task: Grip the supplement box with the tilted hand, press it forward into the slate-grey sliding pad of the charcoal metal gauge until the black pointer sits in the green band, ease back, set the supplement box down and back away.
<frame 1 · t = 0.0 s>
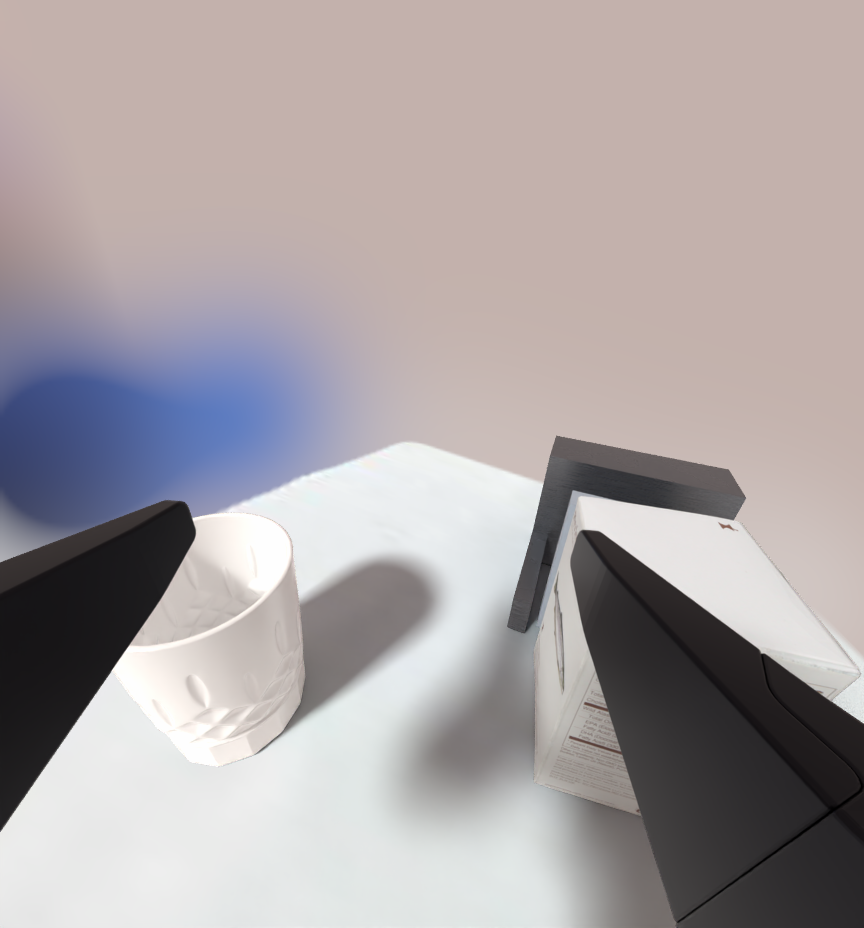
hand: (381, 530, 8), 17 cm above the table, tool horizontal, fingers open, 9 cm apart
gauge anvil: (600, 585, 29), on the table
supplement box: (597, 730, 20), on the table
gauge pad: (645, 592, 21), point 6 cm above the table, slide at 0.1 cm
white cup: (243, 698, 21), on the table
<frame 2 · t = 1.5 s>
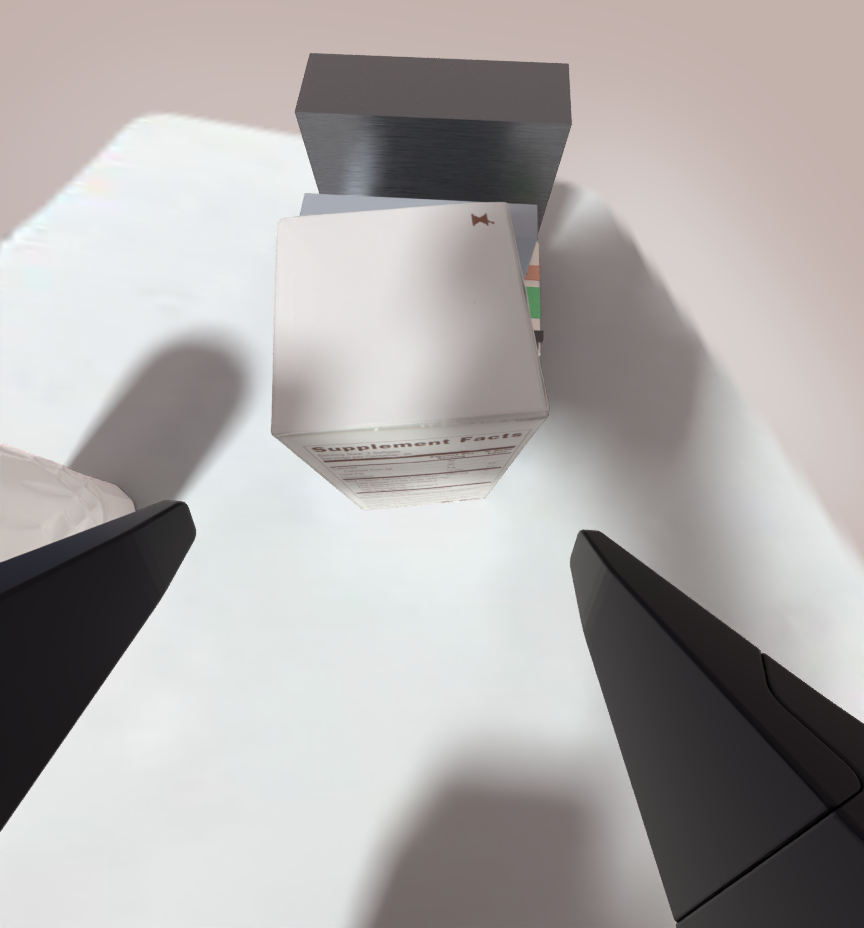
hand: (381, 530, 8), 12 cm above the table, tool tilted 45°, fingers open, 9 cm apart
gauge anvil: (432, 295, 25), on the table
supplement box: (419, 449, 22), on the table
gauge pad: (443, 312, 18), point 6 cm above the table, slide at 0.1 cm
white cup: (83, 538, 21), on the table
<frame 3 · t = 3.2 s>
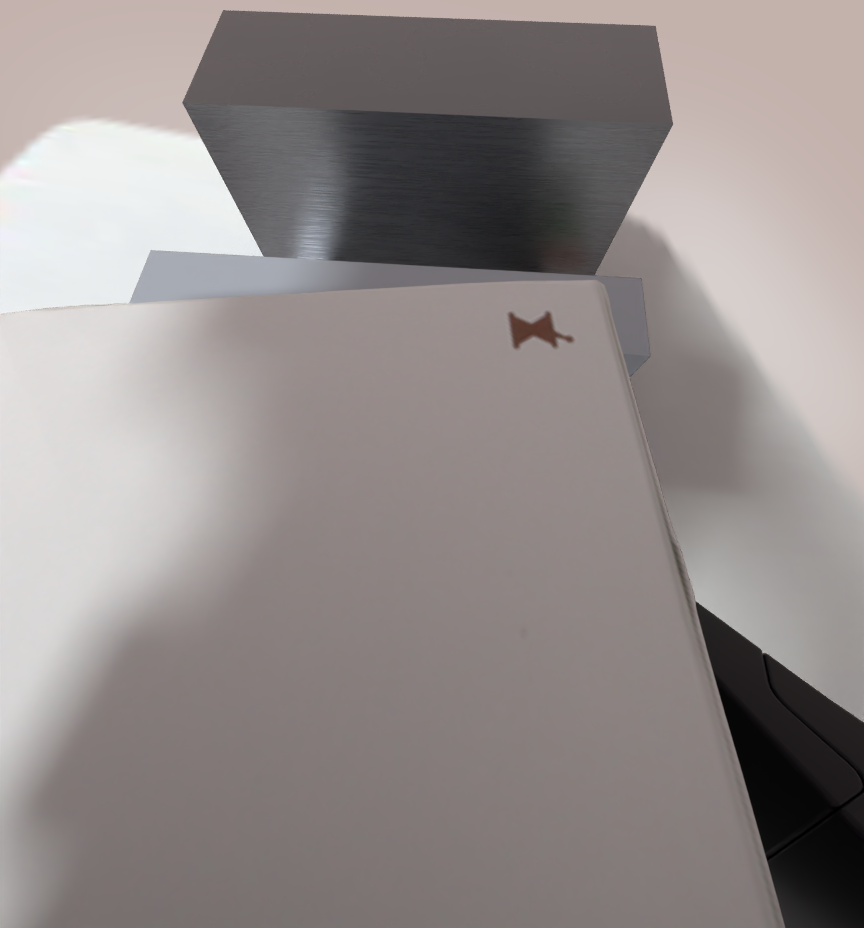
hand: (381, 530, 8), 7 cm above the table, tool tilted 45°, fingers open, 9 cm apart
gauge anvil: (428, 363, 18), on the table
supplement box: (404, 600, 15), on the table, touching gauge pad, gripper
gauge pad: (441, 426, 11), point 6 cm above the table, slide at 0.3 cm, touching supplement box
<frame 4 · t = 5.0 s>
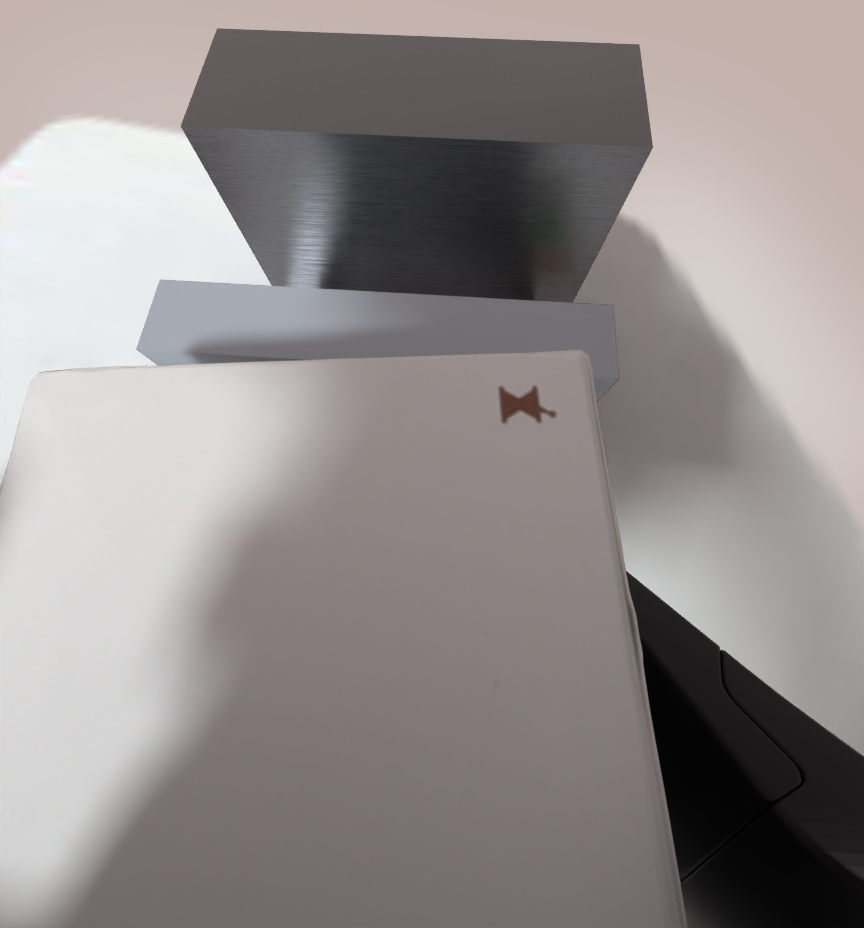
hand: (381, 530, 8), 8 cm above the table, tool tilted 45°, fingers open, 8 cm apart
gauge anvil: (422, 365, 19), on the table
supplement box: (402, 590, 16), on the table, touching gripper
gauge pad: (434, 431, 11), point 6 cm above the table, slide at 0.4 cm
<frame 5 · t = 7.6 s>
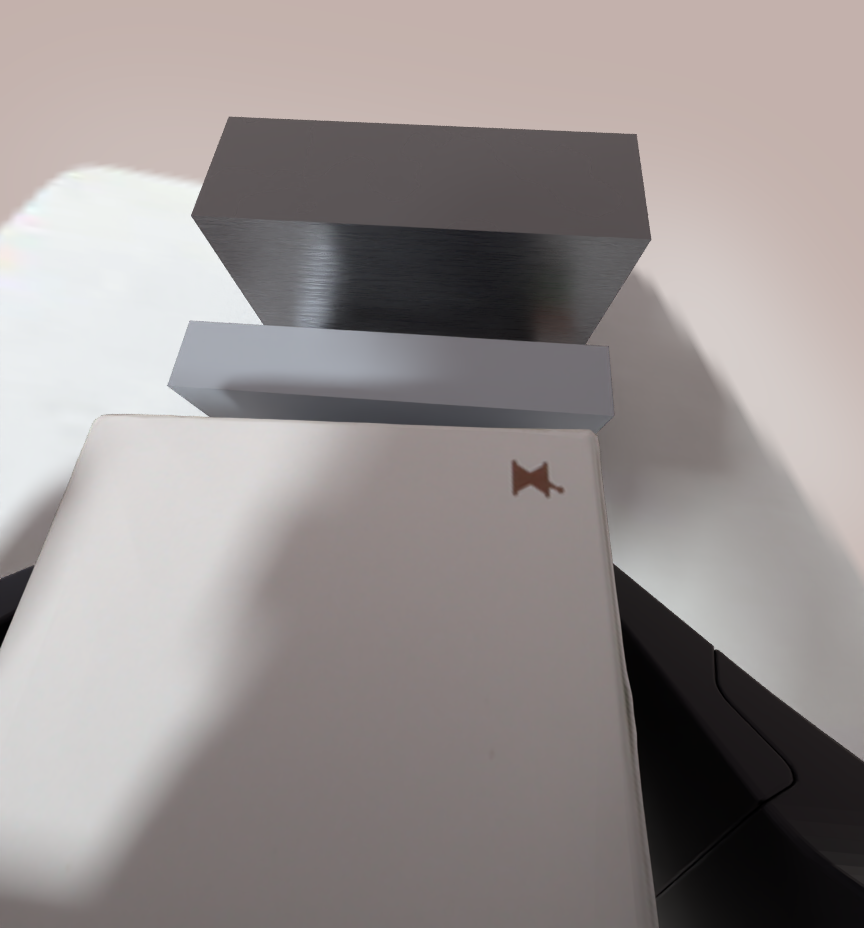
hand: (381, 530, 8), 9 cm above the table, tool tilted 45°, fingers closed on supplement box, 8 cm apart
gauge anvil: (424, 414, 19), on the table
supplement box: (401, 630, 16), on the table, touching gripper
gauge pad: (439, 455, 12), point 6 cm above the table, slide at 1.9 cm
when the fingers open (9 cm above the table, at t = 8.2 s): supplement box stays where it is, on the table.
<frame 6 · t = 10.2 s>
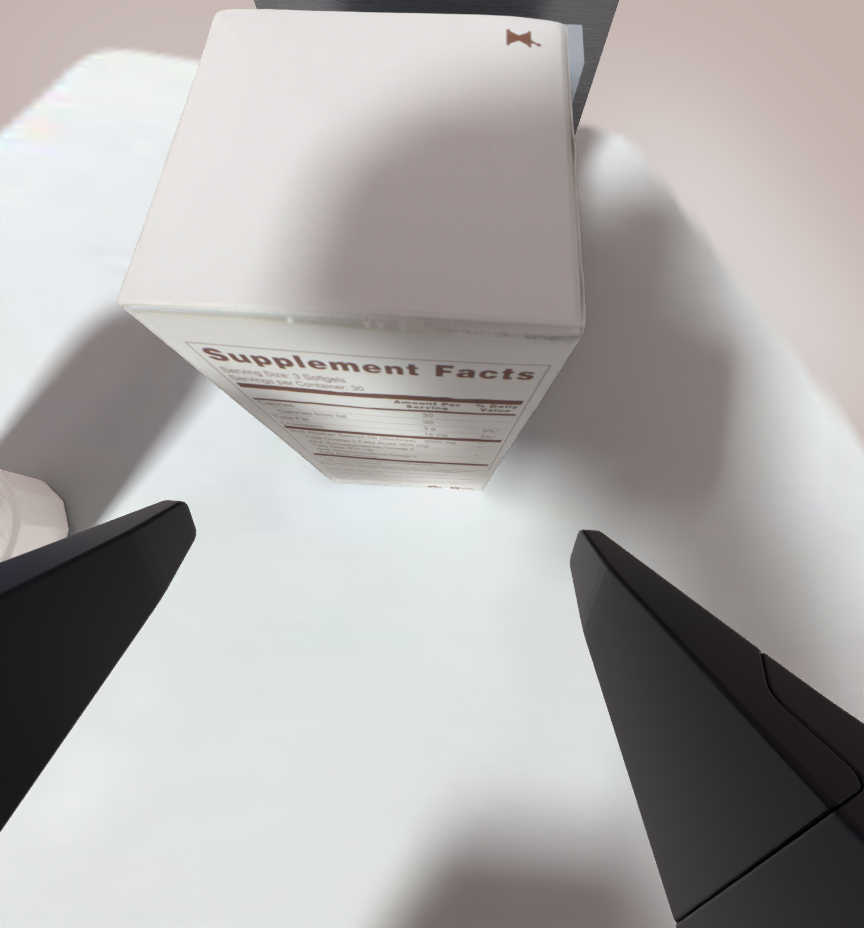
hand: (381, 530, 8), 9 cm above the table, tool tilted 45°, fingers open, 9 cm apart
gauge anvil: (432, 255, 21), on the table
supplement box: (413, 421, 19), on the table
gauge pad: (449, 218, 14), point 6 cm above the table, slide at 1.9 cm
white cup: (0, 547, 17), on the table
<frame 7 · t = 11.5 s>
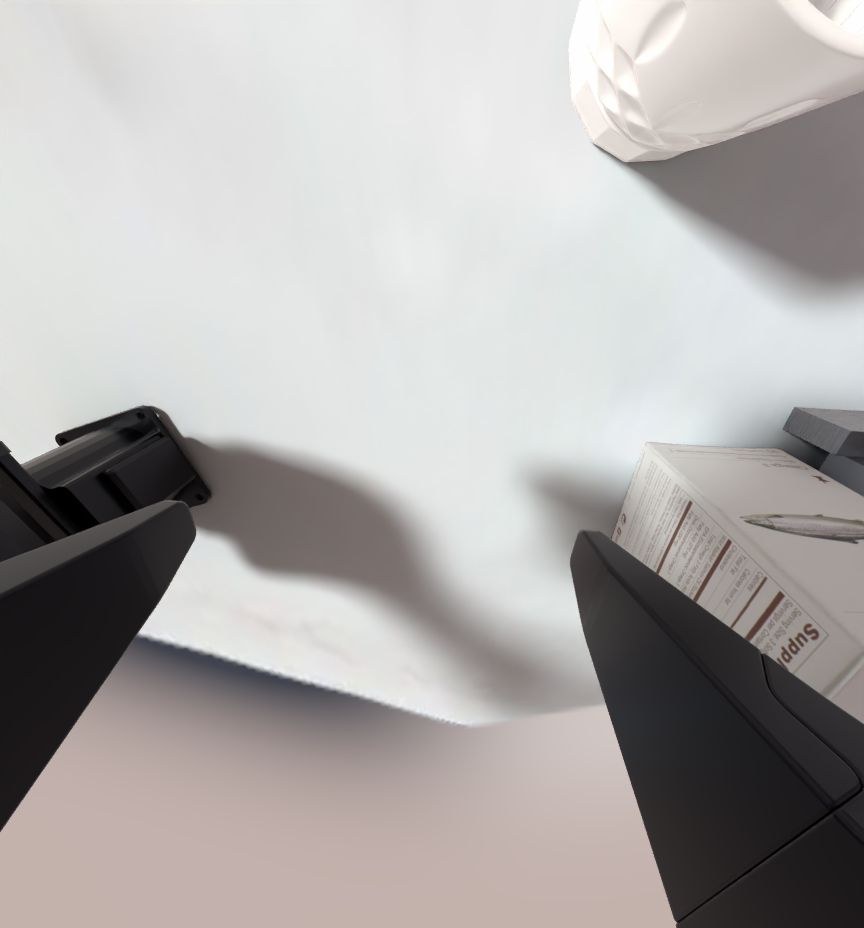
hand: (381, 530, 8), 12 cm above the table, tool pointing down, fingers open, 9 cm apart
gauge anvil: (863, 512, 21), on the table
supplement box: (683, 495, 22), on the table
white cup: (662, 45, 13), on the table
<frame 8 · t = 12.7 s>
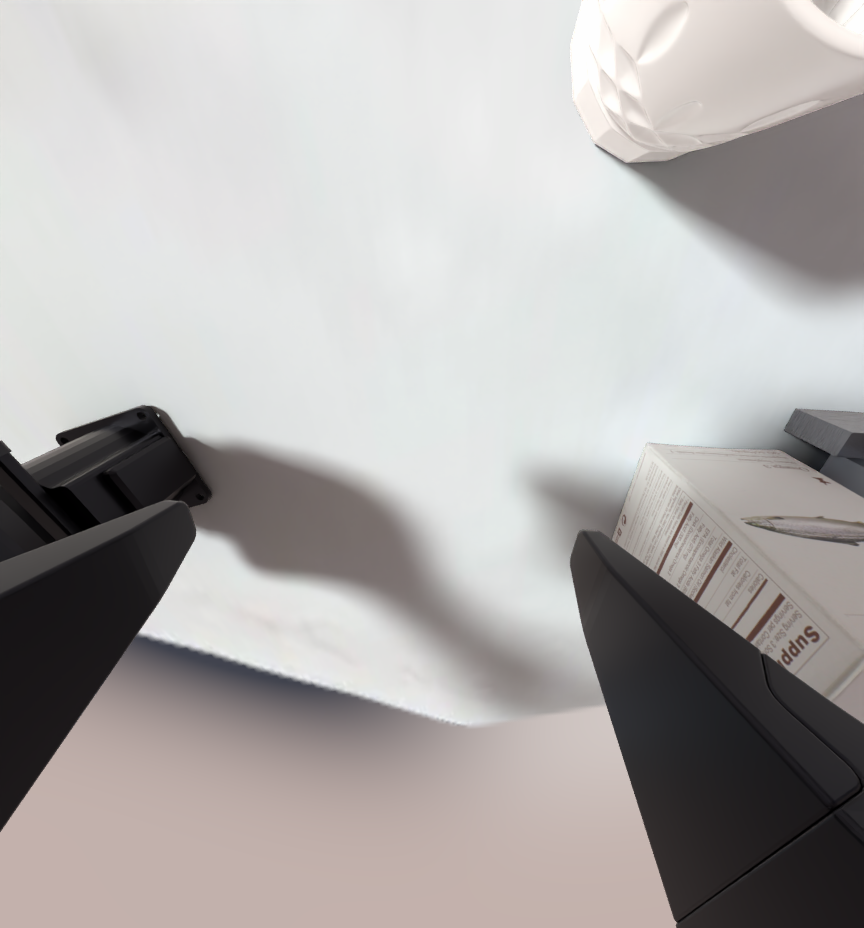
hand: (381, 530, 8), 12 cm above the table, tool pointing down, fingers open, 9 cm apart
supplement box: (683, 496, 22), on the table
white cup: (664, 45, 13), on the table
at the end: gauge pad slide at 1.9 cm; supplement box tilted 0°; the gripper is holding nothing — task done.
